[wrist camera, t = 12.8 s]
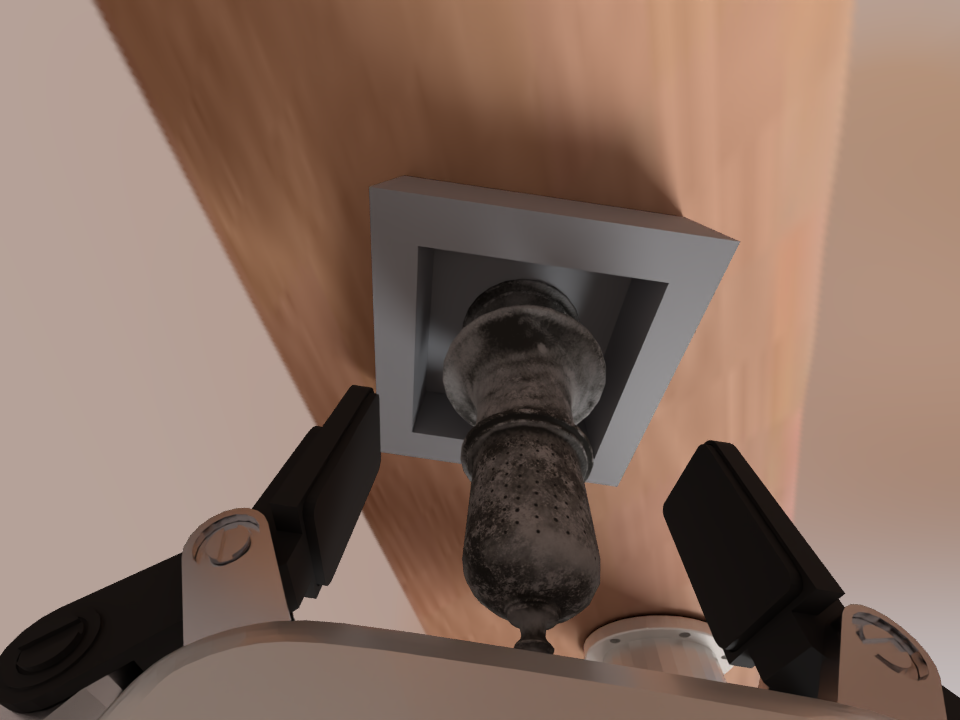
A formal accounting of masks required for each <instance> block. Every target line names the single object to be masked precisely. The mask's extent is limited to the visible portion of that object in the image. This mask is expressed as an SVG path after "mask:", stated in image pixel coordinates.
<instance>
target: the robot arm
mask: <svg viewBox="0 0 960 720" xmlns="http://www.w3.org/2000/svg"><path fill="white" fill-rule="evenodd" d="M380 462H381V445H380V399H379V394H376V393H374V391H373V388H370V387H363V386H357V385H352V386H351V387H350V388H349V389H348V391H347V392H346V394H345V395H344V397H343V398H342V399H341V401H340V402H339V404H338V405H337V407H336V408H335V409H334V411H333V412H332V414H331V415H330V417H329V418H328V419H327V421H326V422H325V424H324V425H323V427H320V426H315V427H313V428H312V429H311V430H310V431H309V432H308V433H307V434H306V436H305V437H304V439H303V440H302V441H301V443H300V444H299V445H298V447H297V448H296V449H295V451H294V452H293V454H292V455H291V456H290V458H289V459H288V460H287V462H286V463H285V464H284V466H283V467H282V468H281V470H280V471H279V473H278V474H277V475H276V477H275V478H274V479H273V481H272V482H271V483H270V485H269V486H268V488H267V489H266V490H265V492H264V493H263V494H262V496H261V497H260V498H259V500H258V501H257V502H256V504H255V505H254V507H253V508H252V509H250V508H236V509H232V510H229V511H224V512H222V513H220V514H218V515H216V516H214V517H212V518H210V519H208V520H207V521H206V522H204V523H203V524H201V525H200V526H199V527H198V528H197V529H196V530H195V531H194V532H193V533H192V534H191V535H190V537H189V539H188V540H187V542H186V544H185V545H184V548H183V552H182V553H180V554H178V555H175V556H173V557H171V558H169V559H167V560H164V561H162V562H160V563H158V564H156V565H153V566H151V567H149V568H147V569H145V570H142V571H140V572H138V573H136V574H133V575H131V576H129V577H127V578H125V579H123V580H120V581H118V582H116V583H114V584H112V585H109V586H107V587H105V588H103V589H100V590H98V591H96V592H94V593H92V594H90V595H87V596H85V597H83V598H81V599H78V600H76V601H74V602H72V603H70V604H67V605H65V606H63V607H61V608H59V609H57V610H55V611H53V612H52V613H50V614H48V615H46V616H44V617H42V618H41V619H39V620H38V621H37V622H35V623H34V624H32V625H31V626H30V627H28V628H27V629H26V630H24V631H23V632H22V633H21V634H20V635H19V636H18V637H17V638H16V639H15V640H14V641H13V642H11V643H10V644H9V646H7V647H6V649H5V650H4V651H3V653H2V654H1V655H0V720H960V698H959V697H958V696H956V695H955V694H954V693H952V692H951V691H949V690H948V689H947V688H945V687H944V686H942V685H941V679H940V676H939V673H938V670H937V668H936V665H935V664H934V662H933V661H932V659H931V658H930V656H929V655H928V653H927V652H926V651H925V650H924V648H923V647H922V646H921V645H920V644H919V643H918V642H917V641H916V639H915V638H913V637H912V636H911V635H910V634H909V633H908V632H907V631H906V630H904V629H903V628H902V627H901V626H899V625H898V624H897V623H895V622H894V621H893V620H891V619H890V618H888V617H887V616H885V615H883V614H881V613H880V612H878V611H876V610H874V609H872V608H869V607H866V606H863V605H858V604H850V605H848V606H846V607H844V606H843V605H842V603H841V602H840V600H839V598H840V597H841V596H843V595H844V594H845V593H844V591H843V590H842V589H841V587H840V586H839V585H838V583H837V582H836V581H835V579H834V578H833V577H832V576H831V574H830V573H829V571H828V570H827V569H826V567H825V566H824V564H823V563H822V562H821V561H820V559H819V558H818V556H817V555H816V554H815V552H814V551H813V550H812V548H811V547H810V546H809V545H808V543H807V542H806V540H805V539H804V538H803V536H802V535H801V534H800V532H799V531H798V530H797V528H796V527H795V526H794V524H793V523H792V522H791V520H790V519H789V518H788V516H787V515H786V514H785V512H784V511H783V510H782V508H781V507H780V506H779V504H778V503H777V502H776V500H775V499H774V498H773V496H772V495H771V493H770V492H769V491H768V489H767V488H766V487H765V485H764V484H763V483H762V481H761V480H760V479H759V477H758V476H757V475H756V473H755V472H754V471H753V469H752V468H751V467H750V465H749V464H748V463H747V461H746V460H745V459H744V457H743V456H742V455H741V453H740V452H739V451H738V449H737V448H736V447H735V446H734V445H733V444H731V443H725V442H719V441H712V440H709V441H707V442H705V444H701V445H700V446H699V447H698V448H697V450H696V451H695V453H694V455H693V456H692V458H691V460H690V461H689V463H688V465H687V466H686V468H685V470H684V471H683V473H682V475H681V476H680V478H679V480H678V481H677V483H676V485H675V486H674V488H673V490H672V491H671V493H670V495H669V496H668V498H667V500H666V501H665V503H664V506H663V515H664V518H665V520H666V523H667V525H668V528H669V530H670V533H671V535H672V538H673V540H674V542H675V545H676V547H677V550H678V552H679V555H680V557H681V560H682V562H683V564H684V567H685V569H686V572H687V574H688V577H689V579H690V582H691V584H692V587H693V589H694V591H695V594H696V596H697V599H698V601H699V604H700V606H701V609H702V611H703V614H704V616H705V618H706V621H707V623H706V622H703V621H700V620H696V619H692V618H686V617H681V616H668V615H650V616H640V617H633V618H628V619H622V620H619V621H616V622H612V623H609V624H607V625H605V626H603V627H600V628H599V629H597V630H596V631H594V632H593V633H592V634H591V635H590V636H589V637H588V638H587V639H586V641H585V643H584V655H585V660H584V659H578V658H572V657H565V656H559V655H553V654H546V653H540V652H534V651H528V650H521V649H515V648H508V647H502V646H495V645H489V644H483V643H476V642H470V641H463V640H457V639H450V638H444V637H437V636H431V635H424V634H418V633H411V632H404V631H396V630H389V629H381V628H374V627H367V626H359V625H351V624H344V623H332V622H320V621H307V620H304V621H295V619H294V615H293V611H295V610H296V609H298V608H299V606H300V604H301V602H302V600H303V598H304V597H308V598H315V599H316V598H317V596H318V594H319V591H320V589H321V587H322V585H325V586H328V585H329V584H330V582H331V581H332V578H333V576H334V574H335V572H336V569H337V567H338V565H339V562H340V560H341V558H342V555H343V553H344V551H345V548H346V546H347V543H348V541H349V539H350V536H351V534H352V532H353V529H354V527H355V525H356V522H357V520H358V518H359V515H360V513H361V511H362V508H363V506H364V504H365V501H366V499H367V497H368V494H369V492H370V490H371V487H372V485H373V483H374V480H375V478H376V476H377V473H378V471H379V467H380ZM733 665H734V666H741V667H747V668H752V667H754V666H756V668H757V670H758V672H759V675H760V680H759V685H758V688H755V687H749V686H743V685H737V684H731V683H727V682H726V679H725V677H724V674H725V673H727V672H728V671H729V670H730V669H731V668H732V667H733Z"/></svg>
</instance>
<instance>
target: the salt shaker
mask: <svg viewBox="0 0 960 720" xmlns="http://www.w3.org/2000/svg"><path fill="white" fill-rule="evenodd" d="M605 382H606V364H605V361H604V357H603V354H602V351H601V348H600V345H599V344H598V343H597V341H596V340H595V338H594V337H593V336H592V334H591V333H590V332H589V330H588V329H587V328H586V327H584V326H583V325H582V324H581V322H580V319H579V316H578V313H577V310H576V308H575V307H574V306H573V304H572V303H571V301H570V300H569V299H568V297H567V296H566V295H564V294H563V293H562V292H560V291H559V290H558V289H557V288H555V287H553V286H551V285H548V284H546V283H544V282H541V281H537V280H529V279H517V280H509V281H504V282H502V283H499V284H497V285H494V286H492V287H490V288H489V289H487V290H486V291H484V292H483V293H482V294H480V295H479V296H478V297H477V298H476V299H475V301H474V302H473V303H472V305H471V306H470V307H469V308H468V311H467V313H466V316H465V318H464V321H463V327H462V330H461V331H460V333H459V334H458V335H457V336H456V338H455V339H454V340H453V341H452V343H451V344H450V347H449V349H448V352H447V354H446V357H445V360H444V364H443V383H444V387H445V391H446V395H447V397H448V399H449V401H450V402H451V404H452V406H453V407H454V409H455V411H456V412H457V413H458V414H459V415H460V416H461V417H462V418H463V419H464V420H465V421H466V422H468V423H469V424H470V425H472V426H474V427H473V428H472V429H471V430H470V431H469V432H468V433H467V435H466V437H465V439H464V441H463V443H462V447H461V457H460V460H461V464H462V467H463V471H464V472H465V474H466V475H467V477H468V478H469V480H470V481H471V490H470V498H469V507H468V515H467V523H466V532H465V540H464V548H463V557H462V561H463V572H464V576H465V579H466V581H467V584H468V585H469V587H470V589H471V591H472V593H473V594H474V596H475V597H476V598H477V599H478V601H479V602H480V603H481V604H482V605H484V606H485V607H486V608H488V609H489V610H491V611H492V612H493V613H495V614H496V615H498V616H499V617H501V618H503V619H505V620H508V621H509V622H510V623H511V624H512V625H513V626H515V627H517V628H519V629H520V631H521V639H520V640H519V641H518V642H517V643H516V644H515V646H514V648H515V649H521V650H528V651H534V652H540V653H546V654H553V653H554V648H553V646H552V645H551V644H550V643H549V642H548V641H547V640H546V637H545V636H546V630H548V629H551V628H553V627H554V626H555V625H556V624H559V623H563V622H565V621H567V620H569V619H571V618H573V617H574V616H575V615H577V614H578V613H580V612H581V611H582V610H584V609H585V608H586V607H587V606H588V605H589V604H590V602H591V600H592V598H593V596H594V594H595V592H596V590H597V588H598V586H599V584H600V555H599V550H598V545H597V541H596V536H595V531H594V526H593V522H592V517H591V512H590V507H589V503H588V498H587V493H586V488H585V484H584V483H585V482H586V480H587V479H588V478H589V476H590V473H591V471H592V468H593V450H592V447H591V445H590V443H589V440H588V438H587V437H586V435H585V434H584V433H583V432H582V431H581V430H580V428H579V427H578V426H576V425H577V424H578V423H579V422H581V421H582V420H583V419H584V418H585V417H587V416H588V415H589V414H590V412H591V411H592V410H593V408H594V407H595V405H596V404H597V403H598V401H599V400H600V397H601V394H602V392H603V389H604V386H605Z"/></svg>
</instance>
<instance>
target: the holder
mask: <svg viewBox="0 0 960 720" xmlns="http://www.w3.org/2000/svg"><path fill="white" fill-rule="evenodd" d="M369 199H370V227H371V255H372V283H373V311H374V339H375V368H376V394H379V399H380V445H381V452H384V453H391V454H398V455H404V456H411V457H418V458H425V459H432V460H439V461H445V462H452V463H459V464H461V460H460V457H461V447H462V443H463V441H464V439H465V437H466V435H467V433H468V432H469V431H470V430H471V429H472V428H473V427H474V426H472V425H470V424H469V423H468V422H466V421H465V420H464V419H463V418H462V417H461V416H460V415H459V414H458V413H457V412H456V411H455V409H454V407H453V406H452V404H451V402H450V401H449V399H448V397H447V395H446V391H445V387H444V383H443V364H444V360H445V357H446V354H447V352H448V349H449V347H450V344H451V343H452V341H453V340H454V339H455V338H456V336H457V335H458V334H459V333H460V331H461V330H462V327H463V321H464V318H465V316H466V313H467V311H468V308H469V307H470V306H471V305H472V303H473V302H474V301H475V299H476V298H477V297H478V296H479V295H480V294H482V293H483V292H484V291H486V290H487V289H489V288H490V287H492V286H494V285H497V284H499V283H502V282H504V281H509V280H517V279H529V280H537V281H541V282H544V283H546V284H548V285H551V286H553V287H555V288H557V289H558V290H559V291H560V292H562V293H563V294H564V295H566V296H567V297H568V299H569V300H570V301H571V303H572V304H573V306H574V307H575V308H576V310H577V313H578V316H579V319H580V322H581V324H582V325H583V326H584V327H586V328H587V329H588V330H589V332H590V333H591V334H592V336H593V337H594V338H595V340H596V341H597V343H598V344H599V345H600V348H601V351H602V354H603V357H604V361H605V364H606V382H605V386H604V389H603V392H602V394H601V397H600V400H599V401H598V403H597V404H596V405H595V407H594V408H593V410H592V411H591V412H590V414H589V415H588V416H587V417H585V418H584V419H583V420H582V421H581V422H579V423H578V424H577V425H576V426H578V427H579V428H580V430H581V431H582V432H583V433H584V434H585V435H586V437H587V438H588V440H589V443H590V445H591V447H592V450H593V468H592V471H591V473H590V476H589V478H588V479H587V480H586V482H589V483H596V484H602V485H609V486H616V487H617V486H618V484H619V482H620V480H621V478H622V476H623V474H624V472H625V470H626V468H627V466H628V464H629V462H630V460H631V458H632V457H633V455H634V453H635V451H636V449H637V447H638V445H639V443H640V441H641V439H642V437H643V435H644V433H645V431H646V429H647V427H648V425H649V423H650V421H651V419H652V417H653V415H654V413H655V411H656V409H657V407H658V405H659V403H660V401H661V399H662V397H663V395H664V393H665V391H666V389H667V387H668V385H669V383H670V381H671V379H672V377H673V375H674V373H675V371H676V369H677V367H678V365H679V363H680V361H681V359H682V357H683V355H684V353H685V351H686V349H687V347H688V345H689V343H690V341H691V339H692V337H693V335H694V333H695V331H696V329H697V327H698V325H699V323H700V321H701V319H702V317H703V315H704V313H705V311H706V309H707V307H708V305H709V303H710V301H711V299H712V297H713V295H714V293H715V291H716V289H717V287H718V285H719V283H720V281H721V279H722V277H723V275H724V273H725V271H726V269H727V267H728V265H729V263H730V261H731V259H732V257H733V255H734V253H735V251H736V249H737V247H738V245H739V243H740V241H737V240H735V239H733V238H731V237H728V236H726V235H724V234H722V233H719V232H717V231H715V230H712V229H710V228H708V227H706V226H703V225H701V224H699V223H697V222H694V221H692V220H690V219H688V218H685V217H681V216H674V215H667V214H661V213H654V212H647V211H640V210H634V209H627V208H620V207H613V206H607V205H600V204H593V203H586V202H580V201H573V200H566V199H559V198H553V197H546V196H539V195H532V194H526V193H519V192H512V191H505V190H499V189H492V188H485V187H478V186H472V185H465V184H458V183H451V182H445V181H438V180H431V179H424V178H418V177H411V176H401V177H398V178H395V179H392V180H389V181H385V182H382V183H379V184H376V185H373V186H370V187H369Z"/></svg>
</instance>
